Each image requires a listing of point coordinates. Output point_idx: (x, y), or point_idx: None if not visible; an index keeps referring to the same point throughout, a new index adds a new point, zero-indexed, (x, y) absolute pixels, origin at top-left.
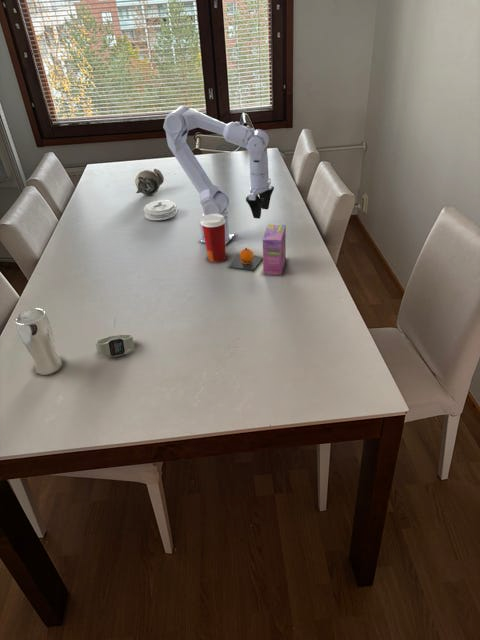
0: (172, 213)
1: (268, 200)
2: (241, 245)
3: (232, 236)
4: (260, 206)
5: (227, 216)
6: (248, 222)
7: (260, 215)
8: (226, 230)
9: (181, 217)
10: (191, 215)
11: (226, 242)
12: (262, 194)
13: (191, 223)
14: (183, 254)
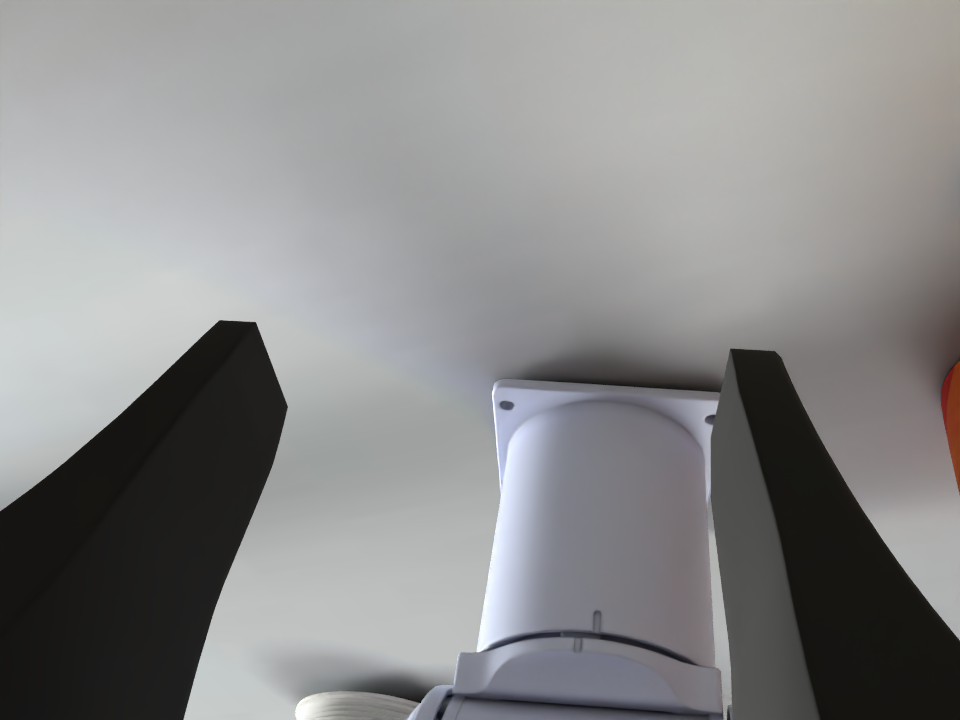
0: (387, 716)
1: (149, 473)
2: (693, 262)
3: (541, 388)
4: (951, 647)
5: (577, 625)
6: (169, 342)
7: (767, 389)
8: (635, 495)
9: (358, 660)
10: (304, 633)
11: (689, 400)
12: (146, 689)
13: (409, 618)
14: (926, 579)
